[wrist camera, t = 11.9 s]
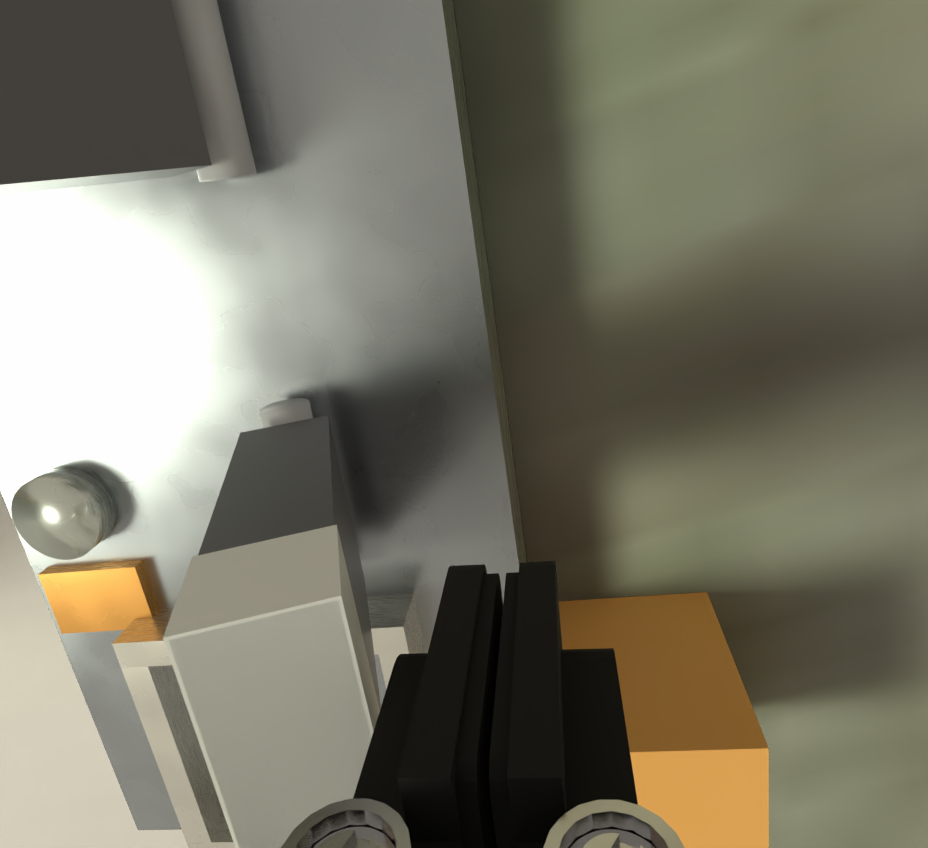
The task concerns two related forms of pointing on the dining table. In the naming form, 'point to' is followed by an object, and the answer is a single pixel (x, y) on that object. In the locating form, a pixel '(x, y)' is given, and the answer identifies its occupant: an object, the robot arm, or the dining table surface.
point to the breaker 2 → (278, 632)
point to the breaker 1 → (116, 94)
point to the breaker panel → (258, 362)
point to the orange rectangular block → (682, 715)
